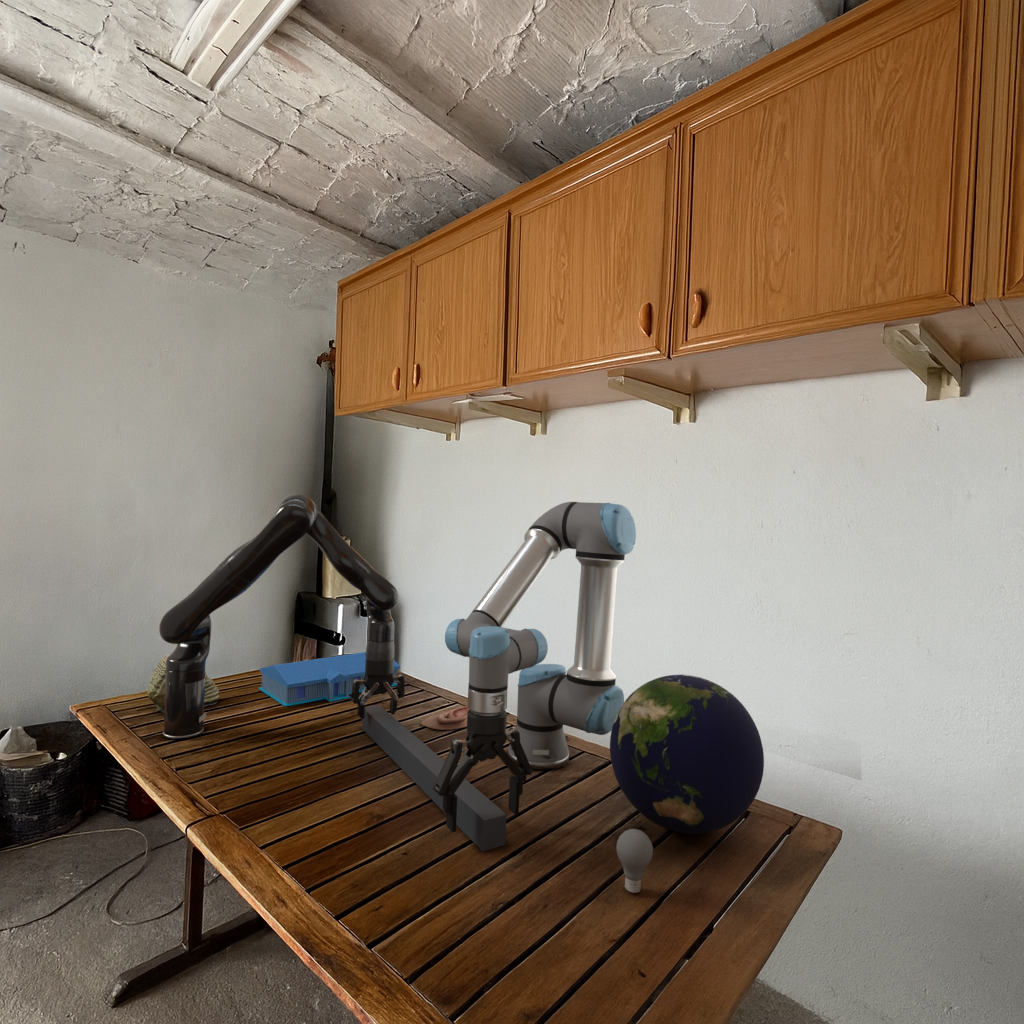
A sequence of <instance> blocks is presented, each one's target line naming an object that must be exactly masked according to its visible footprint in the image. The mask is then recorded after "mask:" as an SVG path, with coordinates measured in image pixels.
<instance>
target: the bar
mask: <svg viewBox="0 0 1024 1024" xmlns="http://www.w3.org/2000/svg"><path fill="white" fill-rule="evenodd" d="M361 729H362V730H363V731H364V733H366V734H367V736H369V737H370V738H371V739H372V740H373V742H375V744H376V745H378V746H379V747H380V749H382V751H384V753H385V754H386V755H387V756H388V757H389V758H390V759H391V760H392V761H393V762H394V763H395V764H396V765H397V766H398V767H399V768H400V769H401V770H402V771H403V772H404V773H405V774H406V775H407V776H408V777H409V778H410V779H411V780H412V781H413V782H414V784H416V786H418V787H419V788H420V789H421V790H422V791H423V793H425V794H426V795H427V797H429V798H430V799H431V801H433V803H435V805H437V807H438V808H440V810H441V811H443V796H440V795H439V794H438V793H437V792H436V791H435V790H434V789H433V787H434V785H435V782H436V780H437V778H438V776H439V774H440V771H441V769H442V767H443V765H444V763H445V760H444V759H443V758H442V757H441V756H439V755H438V754H437V753H436V752H434V750H432V748H430V747H429V746H427V745H426V743H424V742H423V741H422V740H420V739H419V737H417V736H416V735H415V734H414V733H413V732H411V730H409V729H408V728H407V727H406V726H405V725H403V724H402V723H401V722H400V721H399V720H398V719H396V718H395V717H394V716H393V715H392V714H391V713H390V712H388V711H387V710H386V709H385V708H383V707H382V705H380V704H377V705H376V704H375V705H367V706H365V717H364V719H361ZM454 794H455V795H456V796H457V818H456V827H458V828H459V829H460V830H461V831H462V832H463V833H464V834H465V836H467V837H468V838H469V839H470V840H471V841H472V842H473V843H474V844H475V845H476V846H477V848H478V849H479V850H481V851H482V852H487V851H490V850H493V849H497V848H500V847H503V846H506V841H507V840H506V837H507V814H506V812H504V811H503V810H502V809H501V808H500V807H499V806H498V805H496V804H495V803H494V802H493V801H492V800H491V799H489V798H488V797H487V796H486V795H485V794H483V793H482V792H481V791H480V790H479V789H477V788H476V787H475V786H474V785H473V784H471V782H469V781H468V780H467V779H466V778H465V779H464V780H463V782H462V783H461V784H460V786H459V787H458V789H457V790H456V792H455V793H454ZM443 813H444V814H445V815H446V813H445V812H444V811H443Z"/></svg>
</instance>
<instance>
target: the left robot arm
mask: <svg viewBox="0 0 1024 1024" xmlns="http://www.w3.org/2000/svg"><path fill="white" fill-rule="evenodd" d="M306 535H307V536H308V537H309V538H310V539H311V540H312V541H313V542H314V543H315V544H316V545H317V547H318V548H319V549H320V550H321V551H322V553H323V555H324V556H325V558H326V559H327V561H328V562H329V563H330V565H331V566H332V567H333V569H334V570H335V571H336V572H337V573H338V574H339V575H340V576H341V577H342V578H343V579H345V581H347V582H348V584H350V585H351V586H352V587H354V588H356V589H357V590H359V591H360V592H361V593H362V594H363V595H364V596H365V606H366V615H367V621H368V623H367V640H366V645H365V646H366V647H365V652H366V653H365V656H366V661H365V677H364V679H363V680H357V679H354V680H353V683H352V693H351V694H350V701H351V702H352V703H353V704H355V705H356V704H357V716H358V717H359V719H361V720H362V719H364V717H365V707H366V705H365V703H366V702H367V701H368V700H369V699H370V698H371V697H372V695H373V696H376V695H380V694H381V695H386V693H387V694H388V695H389V697H390V699H389V714H390V715H391V716H393V715H395V714H396V713H397V711H398V701H399V700H400V699H403V698H404V697H405V693H406V692H405V691H406V690H405V676H404V675H402V673H401V674H400V673H397V674H396V676H393V669H394V660H395V622H394V619H393V617H392V613H391V610H393V609H394V608H395V607H396V606H397V605H398V603H399V601H400V594H399V593H400V592H399V591H398V589H397V588H396V586H395V585H393V584H392V583H391V582H390V581H389V580H388V579H387V578H386V577H384V576H383V575H382V574H380V573H378V572H377V571H376V570H375V569H374V567H372V566H371V565H370V563H369V562H368V561H367V560H366V559H364V558H363V557H362V556H361V555H360V554H359V553H358V551H356V550H355V549H354V548H353V547H352V546H351V545H350V544H349V543H348V542H347V541H346V540H345V539H344V538H343V536H341V534H339V532H338V531H337V530H336V529H335V528H334V527H333V525H332V524H331V523H330V521H329V520H328V519H327V518H326V516H325V515H324V514H323V513H322V511H321V509H320V508H319V507H318V506H317V504H316V503H315V502H314V501H313V500H312V498H311V497H309V496H308V495H306V494H304V493H299V492H292V493H289V494H287V495H286V496H285V497H284V498H283V499H282V500H281V502H280V504H279V505H278V508H277V509H276V512H275V513H274V515H272V517H271V519H270V520H269V521H268V523H267V524H266V525H265V526H264V527H263V528H262V530H261V531H260V532H259V533H258V534H257V535H256V536H254V537H252V539H250V540H248V541H246V542H244V543H243V544H241V545H240V546H238V547H237V548H235V549H234V550H233V551H232V552H231V553H229V555H227V556H226V557H225V558H224V559H222V561H221V562H220V563H219V564H218V565H217V566H216V567H215V568H214V569H213V570H212V571H211V572H210V573H209V574H208V575H207V576H206V578H204V579H203V580H202V581H201V582H200V583H199V584H198V585H197V587H195V588H194V590H193V591H191V593H189V594H188V595H187V596H186V597H184V598H183V599H182V600H180V601H179V602H178V603H177V604H175V605H174V606H172V607H171V608H170V609H169V610H168V611H166V612H165V614H164V615H163V616H162V617H161V620H160V622H159V625H158V626H159V627H158V631H159V636H160V637H161V639H162V641H164V642H166V643H167V644H171V645H176V647H175V649H173V651H172V652H171V653H170V654H168V655H169V656H168V658H167V659H166V674H165V705H164V709H163V708H162V709H161V711H160V712H161V713H162V714H163V731H162V737H164V738H166V739H169V740H185V739H190V738H191V739H192V738H194V737H197V736H199V735H202V734H203V732H204V730H205V729H204V722H205V721H204V720H205V719H206V718H207V712H205V706H204V693H205V672H206V664H207V663H206V662H207V658H208V656H209V654H210V649H211V639H212V617H211V614H213V612H215V611H217V610H218V609H220V608H221V607H222V606H225V605H226V604H228V603H230V602H231V601H233V600H234V599H236V598H238V597H239V596H241V595H242V594H244V593H245V592H246V591H248V589H250V587H251V586H252V585H254V584H255V583H256V582H257V581H258V579H260V578H261V576H262V575H263V574H264V573H265V572H266V571H267V570H268V569H269V568H270V567H271V566H272V565H273V563H274V562H275V561H276V559H278V558H279V556H281V554H283V553H284V552H285V551H286V550H288V549H289V548H290V547H292V546H293V545H294V544H296V543H297V542H298V541H300V539H302V538H304V537H305V536H306ZM394 681H395V682H396V683H397V685H396V692H395V690H394V688H392V686H391V685H392V684H393V682H394ZM363 684H364V685H365V689H364V690H363V691H362V692H361V694H360V693H359V689H360V688H361V687H362V685H363ZM359 695H360V696H359Z"/></svg>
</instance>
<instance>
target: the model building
mask: <svg viewBox="0 0 1024 1024" xmlns="http://www.w3.org/2000/svg"><path fill="white" fill-rule="evenodd" d="M365 653H366V651H363V652H356V653H349V654H342V655H341V654H340V655H335V656H329V657H328V656H327V657H321V658H315V659H314V658H313V659H307V660H300V661H293V662H287V663H278V664H272V665H268V666H264V667H263V666H262V667H260V668H259V672H260V673H261V686H260V687H258V690H260V691H261V692H262V693H264V694H265V695H267V696H268V697H270V698H271V699H273V700H274V701H276V702H277V703H279V704H280V705H282V706H283V707H290V706H297V705H302V704H307V703H312V702H317V701H323V700H325V701H327V702H329V703H330V702H335V701H341V700H346V699H347V700H348V699H351V693H352V683H353V680H354V679H357V680H363V679H364V677H365V661H366V656H365ZM400 669H401V665H400V664H399V663H398V662H397V661H396V660H395V659H394V669H393V676H397V670H400ZM395 686H396V687H397V683H396V682H395V681H394V682H393V684H392V685H391V687H395ZM364 689H365V685H364V684H363V685H362V687H361V688H360V689H359V694H360V693H362V691H363V690H364Z"/></svg>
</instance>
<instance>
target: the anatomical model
mask: <svg viewBox="0 0 1024 1024" xmlns="http://www.w3.org/2000/svg"><path fill="white" fill-rule="evenodd" d="M468 710H469V708H468V705H465V706H461V707H460V706H459V707H457V708H453V709H450V710H447V711H445V712H442V713H439V714H436V715H432V716H429V717H427V718H425V719H423V720H422V721H421V722H420V724H421V725H422V726H423V727H426V728H429V729H432V730H439V731H447V730H457V729H462V728H467V712H468Z"/></svg>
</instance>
